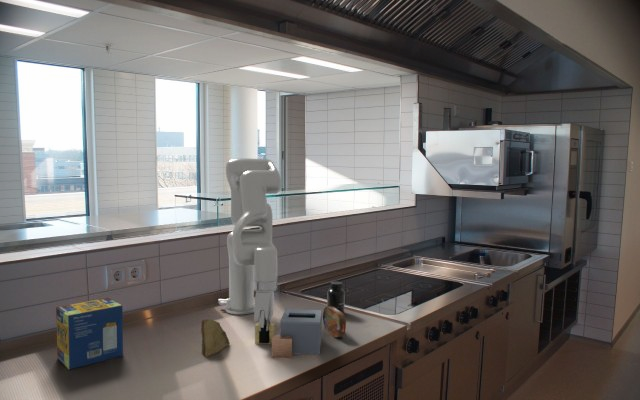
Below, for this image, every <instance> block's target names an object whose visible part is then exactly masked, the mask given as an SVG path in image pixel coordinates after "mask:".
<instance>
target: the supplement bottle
mask: <svg viewBox="0 0 640 400" xmlns="http://www.w3.org/2000/svg"><path fill="white" fill-rule="evenodd" d="M343 288H344V287H343V282H341V281H331V282H330V284H329V289H328V290H327V294H326V295H327V297H326V302H327V303H326V307H327V306H328V307H335V308H336V309H338V310H339V311H340V312H342V313H343V314H344V315H345V304H346V303H345V301H346V300H345V299H346V297H345V296H346V292H345V290H344V289H343Z"/></svg>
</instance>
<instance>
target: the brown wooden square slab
mask: <svg viewBox="0 0 640 400" xmlns="http://www.w3.org/2000/svg"><path fill="white" fill-rule="evenodd" d="M271 358H272V359H293V336H280V335H276V334H275V335H273V337H272V344H271Z"/></svg>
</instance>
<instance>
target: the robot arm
mask: <svg viewBox="0 0 640 400" xmlns="http://www.w3.org/2000/svg"><path fill="white" fill-rule="evenodd" d="M225 175H226V179H227V182H228V185H229V188H230V189H229V190H230V218H231V219H230V220H231V224H232V225H233V226H234V228H233V230H232V231H231V232H229V233H228V235H227V236H226V237H227V238H226V246H227V253H228V276H229V277H228V283H229V284H228V298H226V299H225V298H218V304H219V305H220V306H225V307H224V311H225V312H226V313H227V314H231V315H239V316H241V315H242V316H243V315H249V314H254V316H253V322H254V323H255V324H256V323H259V343H269V330H268V323H272V321H271V320H272V318H273V315H274V309H275V307H274V306H275V304H274V303H275V302H274V301H275V294H274V292H276V291H277V290H278V249H277V247H276V246H275V245H274V243H273V210H272V206H271V205H270V204H269V203H267V201H268V200H267V196H266V195H268V194H269V195H273V194H274V195H275V194H279V192H280V191H281V189H282V179H281V175H280V172H279V171H278V168H277V167H276V165H275V164H274V162H273V160H271V159H268V158H249V157H248V158H233V159H230V160H228V161H227V163H226V165H225ZM248 227H249V228H251V227H253V228H254V227H259V228H258V229H244V228H248ZM254 297H255V298H254ZM265 324H266V325H265Z"/></svg>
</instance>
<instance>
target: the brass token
mask: <svg viewBox="0 0 640 400" xmlns="http://www.w3.org/2000/svg"><path fill="white" fill-rule="evenodd" d="M265 325H266V324H265ZM268 330H269V343H259V322H256V323H255V325H254V332H255V333H254V344H256V345H257V344H258V345H261V344H262V345H272V337H273V335H276V323H274V322H273V323H272V322H271V323H268Z"/></svg>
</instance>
